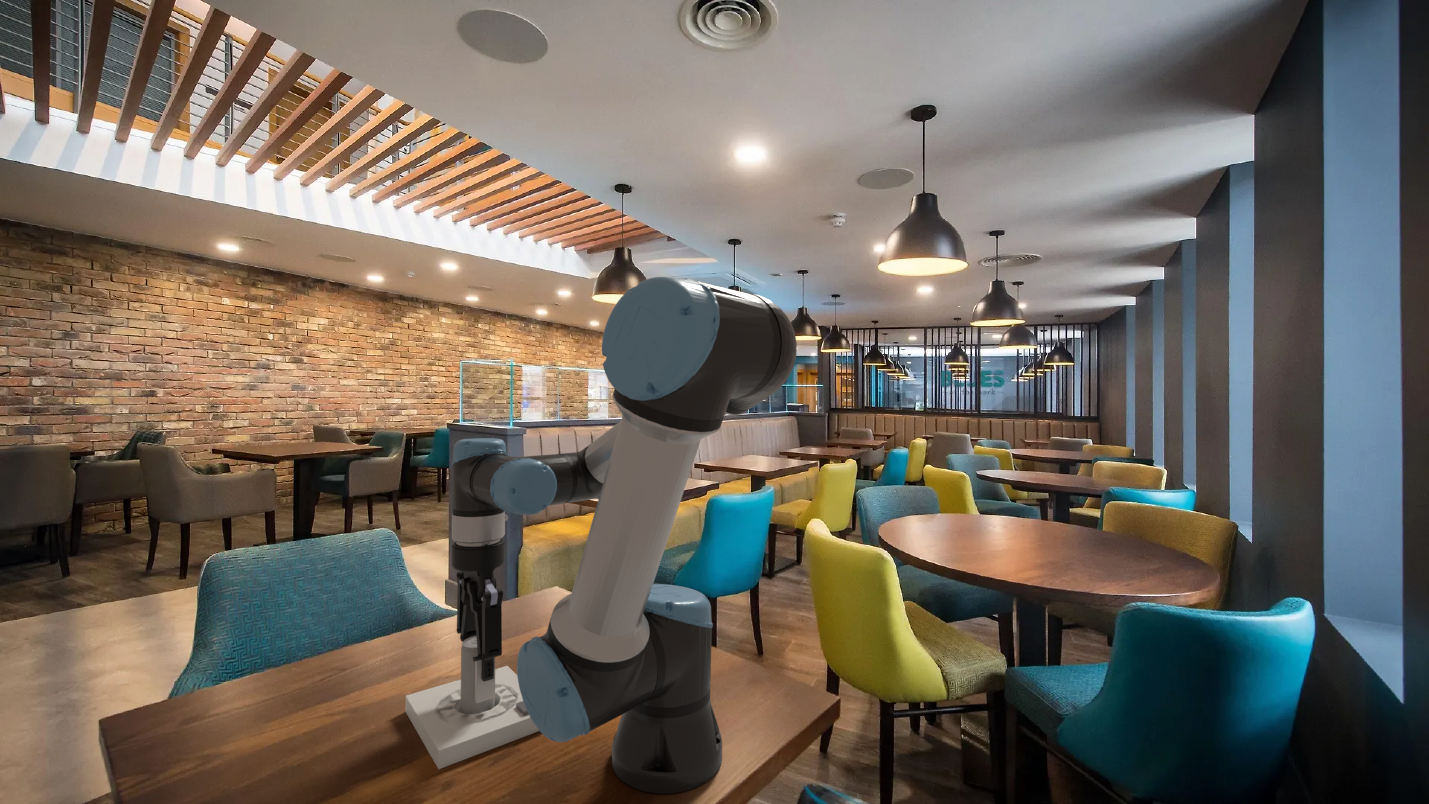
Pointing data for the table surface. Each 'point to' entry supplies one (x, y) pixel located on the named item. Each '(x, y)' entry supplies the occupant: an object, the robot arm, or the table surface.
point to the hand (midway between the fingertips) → (477, 690)
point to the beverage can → (471, 680)
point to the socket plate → (468, 720)
